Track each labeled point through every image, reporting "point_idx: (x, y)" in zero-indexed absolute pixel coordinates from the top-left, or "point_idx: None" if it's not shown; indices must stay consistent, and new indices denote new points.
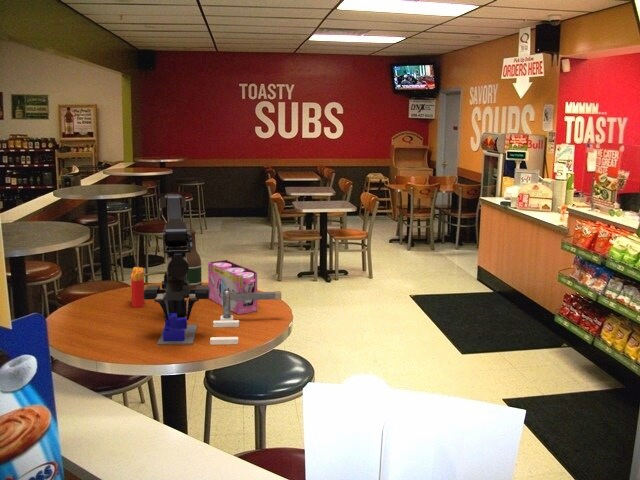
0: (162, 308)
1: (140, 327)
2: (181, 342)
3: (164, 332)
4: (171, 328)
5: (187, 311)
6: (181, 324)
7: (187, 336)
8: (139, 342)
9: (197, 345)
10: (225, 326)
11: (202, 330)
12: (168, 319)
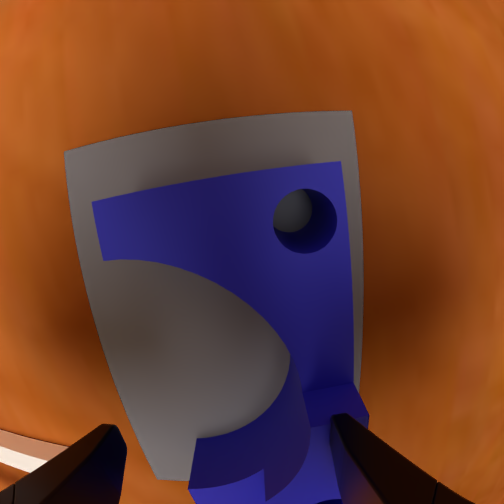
0: (465, 501)
1: (466, 417)
2: (146, 148)
3: (321, 163)
4: (261, 274)
5: (58, 487)
6: (228, 456)
7: (135, 295)
8: (472, 177)
9: (40, 140)
10: (23, 438)
11: (99, 417)
12: (330, 430)
